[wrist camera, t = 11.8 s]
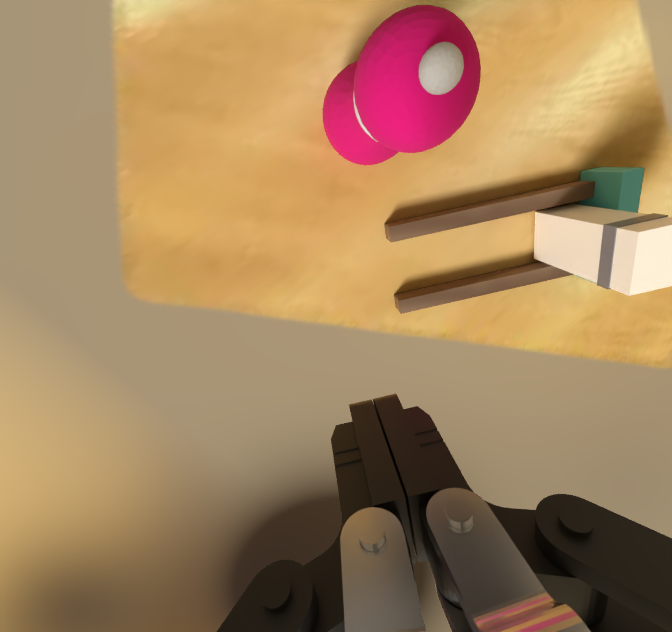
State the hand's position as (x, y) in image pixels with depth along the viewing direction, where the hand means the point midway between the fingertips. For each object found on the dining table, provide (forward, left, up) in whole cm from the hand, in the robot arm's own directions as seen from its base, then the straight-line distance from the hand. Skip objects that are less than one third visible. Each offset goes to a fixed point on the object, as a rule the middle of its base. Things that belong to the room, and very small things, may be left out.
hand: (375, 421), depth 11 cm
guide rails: (+4, +18, -27) cm, 33 cm away
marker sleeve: (+4, +25, -27) cm, 37 cm away
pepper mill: (-10, +6, -27) cm, 30 cm away
